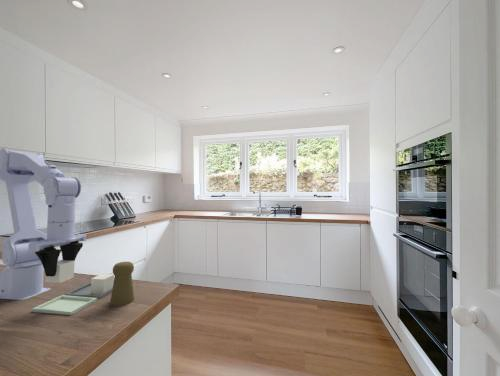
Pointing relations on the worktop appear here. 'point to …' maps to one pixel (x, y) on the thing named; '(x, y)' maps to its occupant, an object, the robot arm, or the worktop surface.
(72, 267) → the stone block
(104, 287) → the stone block
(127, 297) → the cork
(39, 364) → the worktop surface
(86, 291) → the tray
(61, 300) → the tray
